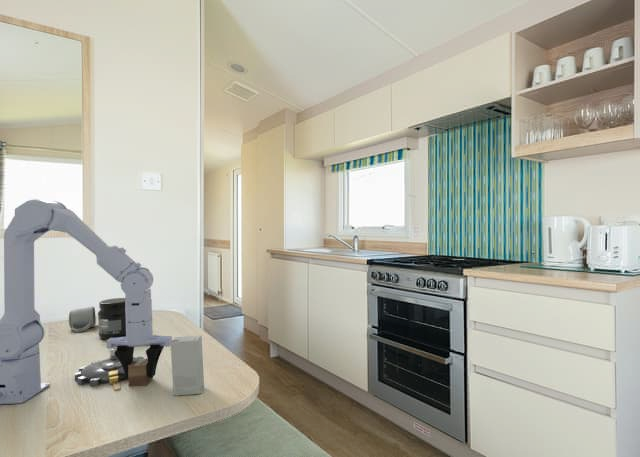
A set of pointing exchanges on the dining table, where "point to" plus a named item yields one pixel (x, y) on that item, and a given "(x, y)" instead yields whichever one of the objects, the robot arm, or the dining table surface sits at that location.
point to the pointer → (116, 386)
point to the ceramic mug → (82, 319)
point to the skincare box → (187, 365)
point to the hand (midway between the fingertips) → (140, 376)
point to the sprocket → (102, 371)
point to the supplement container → (112, 318)
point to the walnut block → (138, 373)
